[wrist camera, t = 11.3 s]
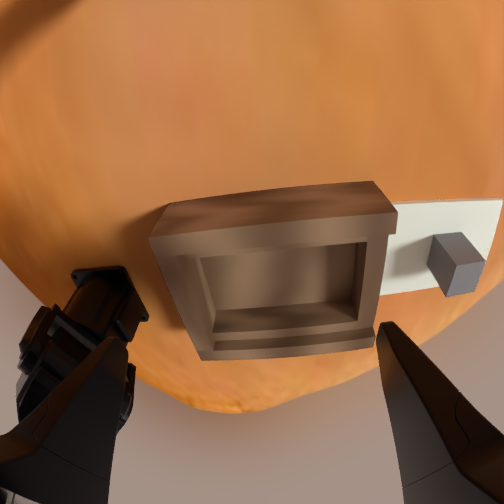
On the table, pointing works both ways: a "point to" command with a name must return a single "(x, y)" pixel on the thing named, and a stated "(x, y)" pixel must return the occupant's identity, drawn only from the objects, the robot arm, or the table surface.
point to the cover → (440, 245)
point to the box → (277, 269)
